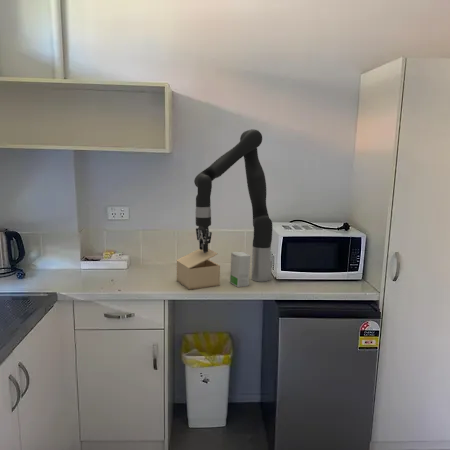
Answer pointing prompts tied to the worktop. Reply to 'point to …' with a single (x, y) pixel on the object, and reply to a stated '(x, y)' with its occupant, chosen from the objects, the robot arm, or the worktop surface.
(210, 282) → the carton
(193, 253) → the lid flap
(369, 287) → the worktop surface
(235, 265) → the skincare box
